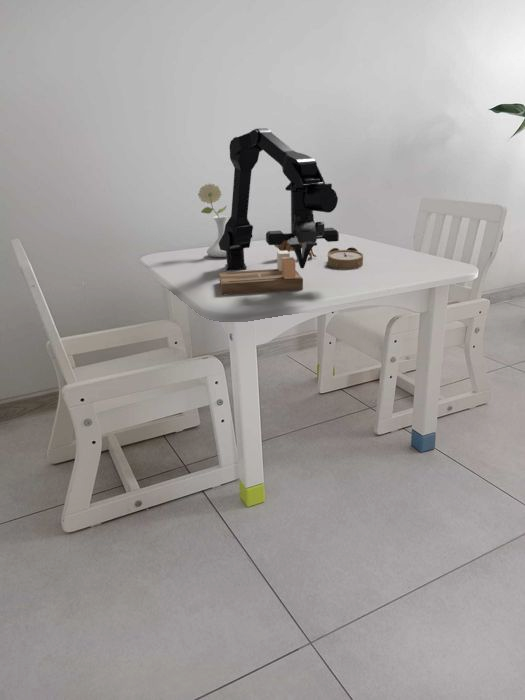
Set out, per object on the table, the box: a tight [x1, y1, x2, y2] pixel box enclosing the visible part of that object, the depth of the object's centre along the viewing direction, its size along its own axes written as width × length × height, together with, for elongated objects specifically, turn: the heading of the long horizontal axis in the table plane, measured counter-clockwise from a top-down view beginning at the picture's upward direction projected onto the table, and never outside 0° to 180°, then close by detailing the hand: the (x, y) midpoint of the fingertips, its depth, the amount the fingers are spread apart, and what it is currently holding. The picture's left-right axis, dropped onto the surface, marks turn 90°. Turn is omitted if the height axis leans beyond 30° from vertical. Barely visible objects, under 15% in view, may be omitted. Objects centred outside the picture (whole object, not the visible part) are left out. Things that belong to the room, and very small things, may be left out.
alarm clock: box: [327, 247, 364, 270], centre depth 164 cm, size 11×5×15 cm
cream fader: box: [276, 250, 291, 271], centre depth 145 cm, size 4×3×5 cm
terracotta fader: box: [282, 256, 296, 279], centre depth 137 cm, size 4×3×5 cm
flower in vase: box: [197, 183, 228, 258], centre depth 177 cm, size 13×11×25 cm
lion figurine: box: [273, 241, 317, 261], centre depth 172 cm, size 15×5×9 cm, turn 93°
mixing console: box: [218, 268, 304, 296], centre depth 142 cm, size 13×22×3 cm, turn 97°
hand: (302, 268), depth 138 cm, fingers closed
